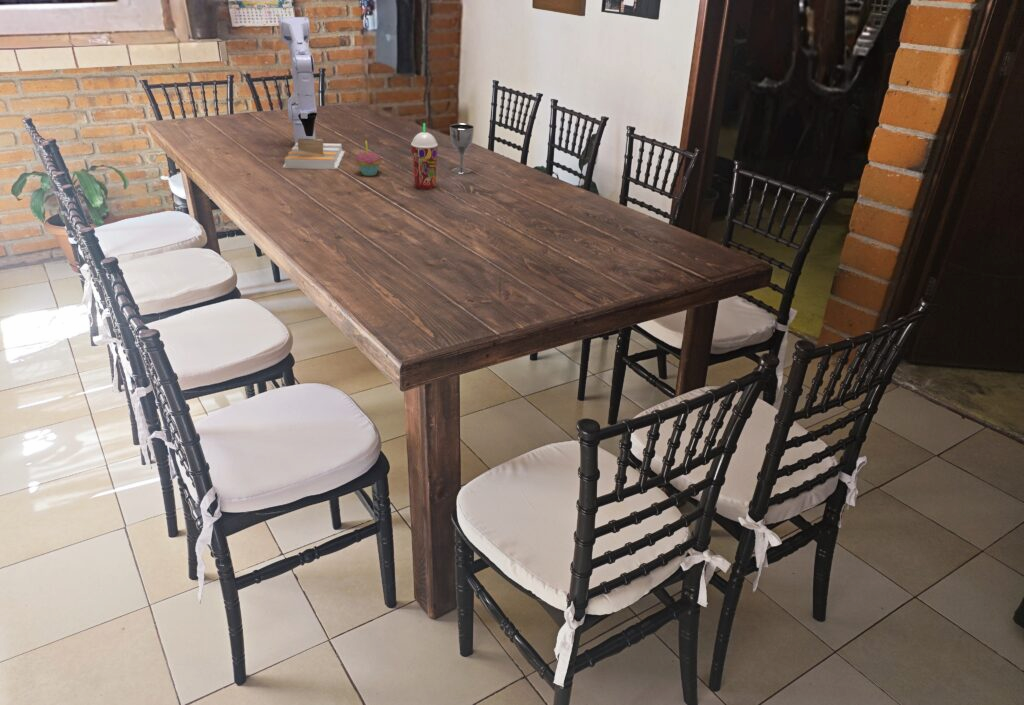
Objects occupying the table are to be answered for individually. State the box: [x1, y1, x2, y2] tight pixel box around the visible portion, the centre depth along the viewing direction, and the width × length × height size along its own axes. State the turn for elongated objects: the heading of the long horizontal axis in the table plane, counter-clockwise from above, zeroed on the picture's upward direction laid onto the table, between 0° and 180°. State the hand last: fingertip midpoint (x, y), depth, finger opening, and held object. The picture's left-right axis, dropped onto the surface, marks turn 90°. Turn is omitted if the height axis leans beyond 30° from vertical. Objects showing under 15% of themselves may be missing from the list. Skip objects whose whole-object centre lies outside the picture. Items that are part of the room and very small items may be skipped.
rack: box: [282, 142, 346, 170], centre depth 262 cm, size 22×18×3 cm
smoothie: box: [410, 122, 439, 190], centre depth 237 cm, size 8×8×20 cm
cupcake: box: [355, 140, 382, 177], centre depth 248 cm, size 9×8×12 cm
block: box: [298, 138, 324, 157], centre depth 255 cm, size 2×8×8 cm, turn 94°
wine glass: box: [449, 123, 475, 174], centre depth 256 cm, size 8×8×15 cm
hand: (309, 135), depth 252 cm, fingers closed
